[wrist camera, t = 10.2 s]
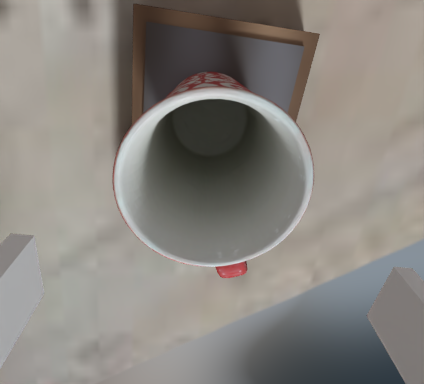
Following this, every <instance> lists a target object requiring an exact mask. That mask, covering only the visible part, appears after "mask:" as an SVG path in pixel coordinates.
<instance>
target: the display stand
mask: <svg viewBox="0 0 424 384" xmlns="http://www.w3.org/2000/svg"><path fill="white" fill-rule="evenodd" d="M319 35H320V34H318V33H311V32H305V31H299V30H293V29H287V28H281V27H275V26H268V25H262V24H256V23H250V22H244V21H238V20H232V19H225V18H219V17H213V16H207V15H201V14H195V13H188V12H182V11H176V10H170V9H164V8H158V7H152V6H145V5H139V4H133V72H132V125H133V123H134V122H135V121H136V120H137V119H138V118H139V117H140V116H141V115H142V114H143V113H144V112H145V111H147V110H148V109H149V108H150V107H152V106H153V105H154V104H156V103H158V102H159V101H161V100H163V99H165V98H166V96H167V95H168V94H169V93H170V92H172V91H173V90H174V89H175V88H176V87H177V85H178V84H180V83H181V82H182V81H183V80H185V79H186V78H188V77H189V76H192V75H194V74H197V73H201V72H218V73H222V74H225V75H227V76H230V77H232V78H233V79H235V80H236V81H237V82H239V83H240V84H242V85H243V86H244V87H246V88H247V89H249V90H250V91H251V92H253V93H255V94H258V95H260V96H263V97H265V98H267V99H268V100H270V101H272V102H274V103H275V104H277V105H278V106H280V107H281V108H282V109H283V110H285V111H286V112H287V113H288V114H289V115H290V116H291V117H292V118H293V120H294V121H295V122H296V119H297V115H298V112H299V108H300V105H301V101H302V97H303V94H304V90H305V86H306V83H307V79H308V75H309V72H310V68H311V64H312V61H313V57H314V53H315V50H316V46H317V42H318V39H319Z"/></svg>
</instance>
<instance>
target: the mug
mask: <svg viewBox="0 0 424 384" xmlns="http://www.w3.org/2000/svg"><path fill="white" fill-rule="evenodd" d="M313 185H314V164H313V158H312V154H311V150H310V147H309V145H308V142H307V140H306V138H305V136H304V134H303V132H302V131H301V129H300V128H299V126H298V124H297V123H296V122H295V121H294V120H293V118H292V117H291V116H290V115H289V114H288V113H287V112H286V111H285V110H283V109H282V108H281V107H280V106H278V105H277V104H275V103H274V102H272V101H270V100H268V99H267V98H265V97H263V96H260V95H258V94H255V93H253V92H251V91H250V90H249V89H247V88H246V87H244V86H243V85H242V84H240V83H239V82H237V81H236V80H235V79H233V78H232V77H230V76H227V75H225V74H222V73H218V72H201V73H197V74H194V75H192V76H189V77H188V78H186V79H185V80H183V81H182V82H181V83H180V84H178V85H177V87H176V88H175V89H174V90H173V91H172V92H170V93H169V94H168V95H167V96H166V98H165V99H163V100H161V101H159V102H158V103H156V104H154V105H153V106H152V107H150V108H149V109H148V110H147V111H145V112H144V113H143V114H142V115H141V116H140V117H139V118H138V119H137V120H136V121H135V122H134V123H133V125H132V126H131V127H130V128H129V130H128V131H127V133H126V134H125V135H124V137H123V140H122V142H121V143H120V146H119V148H118V151H117V153H116V157H115V162H114V167H113V190H114V196H115V200H116V203H117V206H118V209H119V211H120V213H121V215H122V217H123V219H124V221H125V223H126V224H127V225H128V227H129V228H130V229H131V231H132V232H133V233H134V234H135V235H136V236H137V238H139V239H140V240H141V241H142V242H143V243H144V244H145V245H147V246H148V247H149V248H151V249H152V250H153V251H155V252H157V253H158V254H160V255H162V256H164V257H166V258H169V259H171V260H174V261H177V262H180V263H183V264H189V265H195V266H205V267H214V266H215V267H216V270H217V272H218V274H219V275H220V277H222V278H231V277H235V276H240V275H243V274H245V273H246V271H247V263H246V261H247V260H250V259H252V258H255V257H257V256H259V255H261V254H263V253H265V252H267V251H269V250H270V249H272V248H274V247H275V246H276V245H278V244H279V243H280V242H281V241H282V240H284V239H285V238H286V237H287V236H288V235H289V234H290V233H291V232H292V230H293V229H294V228H295V227H296V225H297V224H298V223H299V221H300V220H301V218H302V216H303V215H304V213H305V211H306V208H307V206H308V204H309V201H310V198H311V194H312V190H313Z"/></svg>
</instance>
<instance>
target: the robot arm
mask: <svg viewBox="0 0 424 384" xmlns="http://www.w3.org/2000/svg"><path fill="white" fill-rule="evenodd" d="M43 295H44V288H43V282H42V277H41V271H40V265H39V259H38V254H37V248H36V242H35V236H34V235H22V234H10V235H9V236H8V237H7V238H6V239H5V240H4V241H3V242H2V243H1V245H0V368H1V367H2V365H3V363H4V361H5V360H6V358H7V356H8V355H9V353H10V351H11V349H12V348H13V346H14V344H15V343H16V341H17V339H18V338H19V336H20V334H21V332H22V331H23V329H24V327H25V326H26V324H27V322H28V321H29V319H30V317H31V315H32V314H33V312H34V310H35V309H36V307H37V305H38V303H39V302H40V300H41V298H42V297H43ZM367 318H368V319H369V321H370V323H371V324H372V326H373V328H374V330H375V331H376V333H377V335H378V336H379V338H380V340H381V342H382V343H383V345H384V347H385V349H386V350H387V352H388V354H389V356H390V357H391V359H392V361H393V362H394V364H395V366H396V368H397V369H398V371H399V373H400V375H401V376H402V378H403V380H404V381H405V383H406V384H424V281H423V280H422V279H421V278H420V277H419V275H418V274H417V273H416V272H415V271H414V270H413V269H412V268H401V267H394V268H393V269H392V271H391V273H390V275H389V277H388V278H387V280H386V282H385V284H384V285H383V288H382V289H381V291H380V293H379V294H378V296H377V298H376V300H375V302H374V303H373V305H372V307H371V309H370V311H369V312H368V314H367Z"/></svg>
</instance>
